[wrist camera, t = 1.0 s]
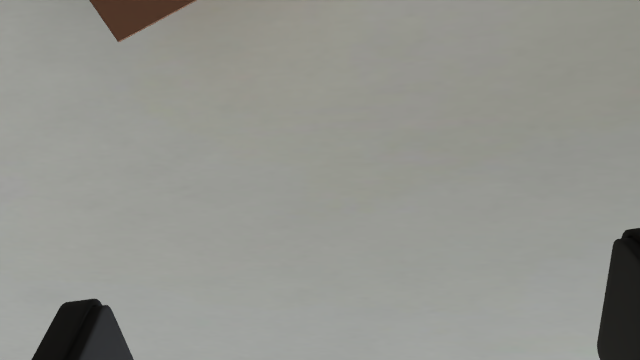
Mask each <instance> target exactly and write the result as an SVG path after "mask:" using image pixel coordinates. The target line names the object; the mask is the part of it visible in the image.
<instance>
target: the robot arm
mask: <svg viewBox="0 0 640 360" xmlns="http://www.w3.org/2000/svg"><path fill="white" fill-rule="evenodd" d="M597 349H598V354H599V358H600V360H640V228H636V229H629V230H626V231H625V232H624V233H623V235H622V238H621V239H617V240H615V242H614V244H613V249H612V255H611V261H610V267H609V274H608V280H607V286H606V292H605V298H604V304H603V311H602V317H601V323H600V329H599V335H598V341H597ZM32 360H134V359H133V357H132V355H131V353H130V350H129V348H128V346H127V344H126V341H125V339H124V337H123V335H122V332H121V330H120V328H119V326H118V323H117V321H116V319H115V317H114V314H113V312H112V310H111V308H110V307H109V306H108V305H103V306H102V304H101V302H100V301H99V300H97V299H89V300H81V301H73V302H66V303H64V304H62V306H61V307H60V308H59V310H58V312H57V314H56V316H55V317H54V319H53V321H52V323H51V325H50V327H49V329H48V330H47V332H46V334H45V336H44V338H43V340H42V342H41V343H40V345H39V347H38V349H37V351H36V353H35V354H34V356H33V358H32Z"/></svg>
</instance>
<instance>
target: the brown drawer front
mask: <svg viewBox="0 0 640 360" xmlns="http://www.w3.org/2000/svg"><path fill="white" fill-rule="evenodd" d="M195 1H196V0H90V2H91V3H92V4H93V6H94V7H95V9H96V10H97V12H98V13H99V15H100V16H101V18H102V19H103V21H104V22H105V23H106V25H107V26H108V28H109V29H110V31H111V32H112V34H113V35H114V37H115V38H116V39H117V41H118V42H120V41H122V40H124V39H126V38H128V37H130V36H132V35H133V34H135V33H137V32H139V31H141V30H143V29H145V28H146V27H148V26H150V25H152V24H154V23H156V22H157V21H159V20H161V19H163V18H165V17H167V16H169V15H170V14H172V13H174V12H176V11H178V10H180V9H182V8H183V7H185V6H187V5H189V4H191V3H193V2H195Z"/></svg>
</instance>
